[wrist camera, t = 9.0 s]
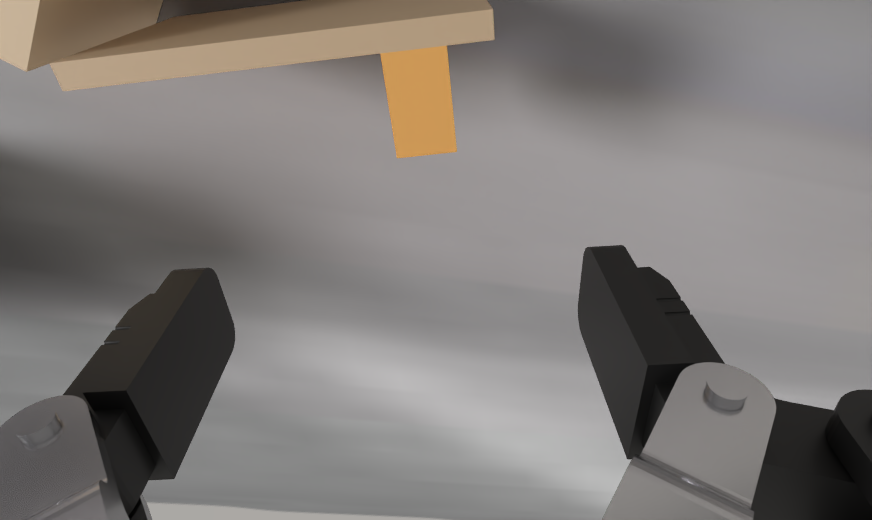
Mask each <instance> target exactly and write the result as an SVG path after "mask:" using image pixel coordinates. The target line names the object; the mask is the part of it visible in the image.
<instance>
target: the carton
mask: <svg viewBox="0 0 872 520" xmlns="http://www.w3.org/2000/svg"><path fill="white" fill-rule="evenodd" d="M162 2H163V0H0V59H2V60H4V61H6V62H8V63H10V64H12V65H14V66H16V67H18V68H20V69H22V70H24V71H26V72H27V71H30V70H33V69H35V68H38V67H41V66H44V65H46V64H49V63H52V62H54V61H57V60H60V59H62V58H65V57H68V56H70V55H73V54H76V53H78V52H81V51H84V50H86V49H89V48H92V47H95V46H97V45H100V44H103V43H105V42H108V41H111V40H113V39H116V38H119V37H121V36H124V35H127V34H129V33H132V32H135V31H138V30H140V29H143V28H146V27H148V26H151V25H154V24H156V22H157V19H158V16H159V12H160V9H161V6H162Z"/></svg>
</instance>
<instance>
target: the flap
mask: <svg viewBox="0 0 872 520" xmlns="http://www.w3.org/2000/svg"><path fill="white" fill-rule="evenodd" d="M489 40H495V39H494V18H493V8H492V7H491V5H490V4H489V3H488V1H487V0H304V1H296V2H288V3H280V4H272V5H264V6H256V7H248V8H240V9H232V10H224V11H216V12H208V13H200V14H192V15H184V16H176V17H172V18H170V19H167V20H164V21H162V22H159V23H156V24H154V25H151V26H148V27H146V28H143V29H140V30H138V31H135V32H132V33H129V34H127V35H124V36H121V37H119V38H116V39H113V40H111V41H108V42H105V43H103V44H100V45H97V46H95V47H92V48H89V49H87V50H84V51H81V52H78V53H76V54H73V55H70V56H68V57H65V58H62V59H60V60H57V61H54V62H52V63H49V64H50V66H51V68H52V70H53V72H54V74H55V76H56V78H57V80H58V82H59V84H60V86H61V88H62V90H63V91H70V90H78V89H86V88H95V87H103V86H112V85H120V84H128V83H137V82H145V81H154V80H162V79H170V78H179V77H187V76H196V75H204V74H212V73H221V72H229V71H237V70H246V69H254V68H263V67H271V66H279V65H288V64H296V63H305V62H313V61H321V60H330V59H338V58H347V57H355V56H363V55H372V54H380V55H381V61H382V67H383V74H384V80H385V86H386V92H387V99H388V105H389V111H390V118H391V124H392V130H393V136H394V143H395V149H396V155H397V158H404V157H413V156H422V155H432V154H441V153H450V152H457V149H456V138H455V127H454V117H453V106H452V95H451V85H450V74H449V63H448V53H447V45H456V44H464V43H473V42H481V41H489Z"/></svg>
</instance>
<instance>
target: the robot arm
mask: <svg viewBox="0 0 872 520" xmlns="http://www.w3.org/2000/svg"><path fill="white" fill-rule="evenodd" d="M578 320H579V327H580V331H581V334H582V337H583V340H584V343H585V345H586V348H587V351H588V354H589V356H590V359H591V362H592V364H593V367H594V370H595V373H596V375H597V378H598V381H599V383H600V386H601V389H602V392H603V394H604V397H605V400H606V403H607V405H608V408H609V411H610V413H611V416H612V419H613V422H614V424H615V427H616V430H617V432H618V435H619V438H620V441H621V443H622V446H623V449H624V452H625V454H626V457H627V459H632V460H631V462H630V464H629V466H628V467H627V469H626V471H625V473H624V476H623V478H622V480H621V482H620V484H619V486H618V488H617V490H616V492H615V494H614V496H613V498H612V500H611V502H610V504H609V506H608V508H607V510H606V512H605V514H604V516H603V518H602V520H872V390H856V391H852V392H849V393H847V394H845V395H844V396H843V397H841V399H840V400H839V402H838V404H837V406H836V408H835V410H829V409H823V408H818V407H813V406H807V405H802V404H797V403H791V402H787V401H782V400H778V399H775V398H774V397H773V395H772V394H771V392H770V391H769V389H768V388H767V387H766V386H765V385H764V384H763V383H762V382H761V381H759V380H758V379H757V378H755V377H754V376H752V375H751V374H749V373H747V372H745V371H743V370H741V369H739V368H736V367H733V366H730V365H727V364H725V363H724V362H723V360H722V359H721V357H720V356H719V354H718V353H717V351H716V350H715V348H714V347H713V345H712V344H711V342H710V341H709V339H708V338H707V336H706V335H705V333H704V332H703V330H702V329H701V327H700V326H699V324H698V323H697V321H696V320H695V318H694V317H693V315H690V311H689V309H688V308H687V306H686V305H685V303H684V302H683V301H681V297H680V296H679V294H678V293H677V291H676V290H675V288H674V287H673V285H672V284H671V282H670V281H669V280H668V279H666V278H665V277H664V276H662V275H661V274H659V273H658V272H656V271H655V270H654V269H652V268H651V267H640V268H637V266H636V265H635V263H634V261H633V260H632V258H631V256H630V255H629V253H628V251H627V250H626V248H625V247H624V246H623V245H616V246H599V247H587V248H586V249H585V251H584V256H583V264H582V273H581V282H580V292H579V301H578ZM104 342H105V344H104V345H101V346H100V348H99V349H98V350H97V352H96V353H95V354H94V355H93V357H92V358H91V359H90V361H89V362H88V363H87V364H86V366H85V367H84V368H83V370H82V371H81V372H80V374H79V375H78V376H77V377H76V379H75V380H74V381H73V383H72V384H71V385H70V387H69V388H68V389H67V390H66V392H65V393H64V394H63V396H56V397H51V398H48V399H44V400H42V401H39V402H37V403H34V404H32V405H30V406H28V407H26V408H25V409H23V410H21V411H19V412H18V413H17V414H15V415H14V416H12V417H11V418H10V419H8V420H7V421H6V422H5V423H4V424H3V425H2V426H1V427H0V520H152V517H151V514H150V511H149V509H148V506H147V503H146V501H145V499H144V497H143V495H142V492H143V490H144V488H145V486H146V484H147V482H148V480H163V479H174V478H175V476H176V474H177V472H178V469H179V467H180V465H181V463H182V461H183V458H184V456H185V454H186V452H187V450H188V447H189V445H190V443H191V441H192V439H193V437H194V434H195V432H196V430H197V428H198V426H199V423H200V421H201V419H202V417H203V415H204V412H205V410H206V408H207V406H208V404H209V401H210V399H211V397H212V395H213V393H214V390H215V388H216V386H217V384H218V382H219V380H220V377H221V375H222V373H223V371H224V369H225V366H226V364H227V362H228V360H229V358H230V355H231V353H232V351H233V348H234V343H235V328H234V323H233V320H232V317H231V314H230V312H229V309H228V306H227V303H226V300H225V297H224V294H223V291H222V289H221V286H220V283H219V280H218V277H217V275H216V273H215V272H214V270H213V269H211V268H197V269H179V270H173V271H172V272H171V273H170V274H169V275H168V276H167V278H166V279H165V281H164V282H163V283H162V285H161V286H160V287H159V289H158V290H157V291H156V293H155V294H149V295H148V296H147V297H145V298H144V299H142V300H141V301H140V302H138V303H137V304H136V305H134V306H133V307H132V308H130V309H129V310H128V311H127V313H126V314H125V315H124V316H123V318H122V319H121V320H120V322H119V323H118V324H117V326H116V330H113V331H112V332H111V333H110V335H109V336H108V337H107V339H106V340H105V341H104Z"/></svg>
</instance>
